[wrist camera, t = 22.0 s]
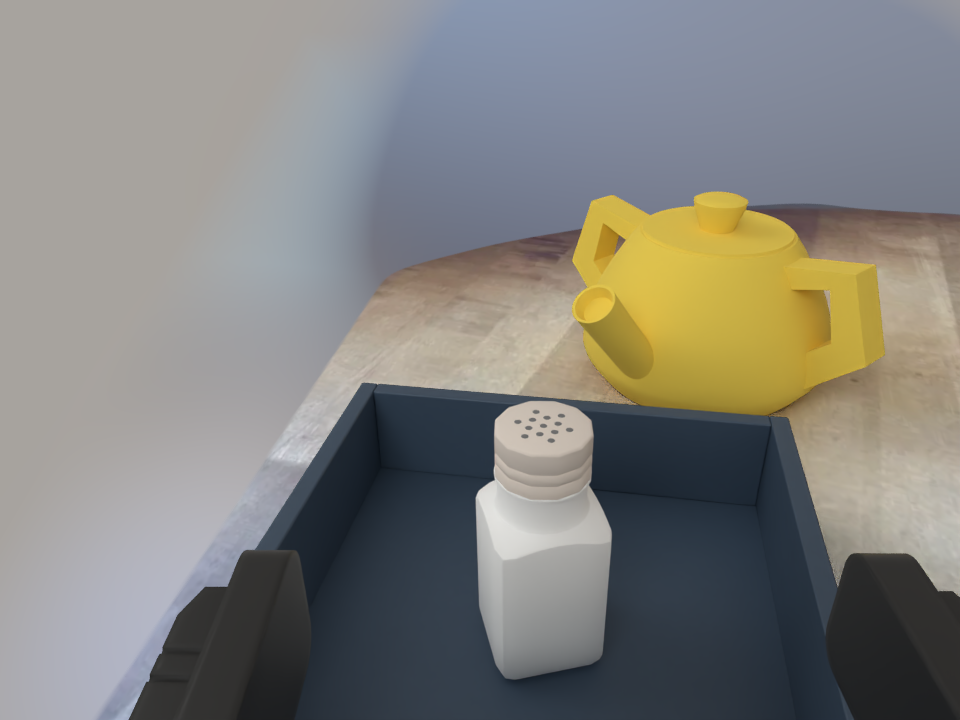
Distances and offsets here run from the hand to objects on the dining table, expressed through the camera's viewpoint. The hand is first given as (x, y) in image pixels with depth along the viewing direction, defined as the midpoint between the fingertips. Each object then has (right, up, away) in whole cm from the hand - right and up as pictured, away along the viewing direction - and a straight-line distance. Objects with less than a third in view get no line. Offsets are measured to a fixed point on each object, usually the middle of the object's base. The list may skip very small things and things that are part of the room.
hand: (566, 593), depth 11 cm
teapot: (+11, +2, +35) cm, 37 cm away
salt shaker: (+1, -7, +18) cm, 19 cm away
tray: (+1, -7, +18) cm, 19 cm away
